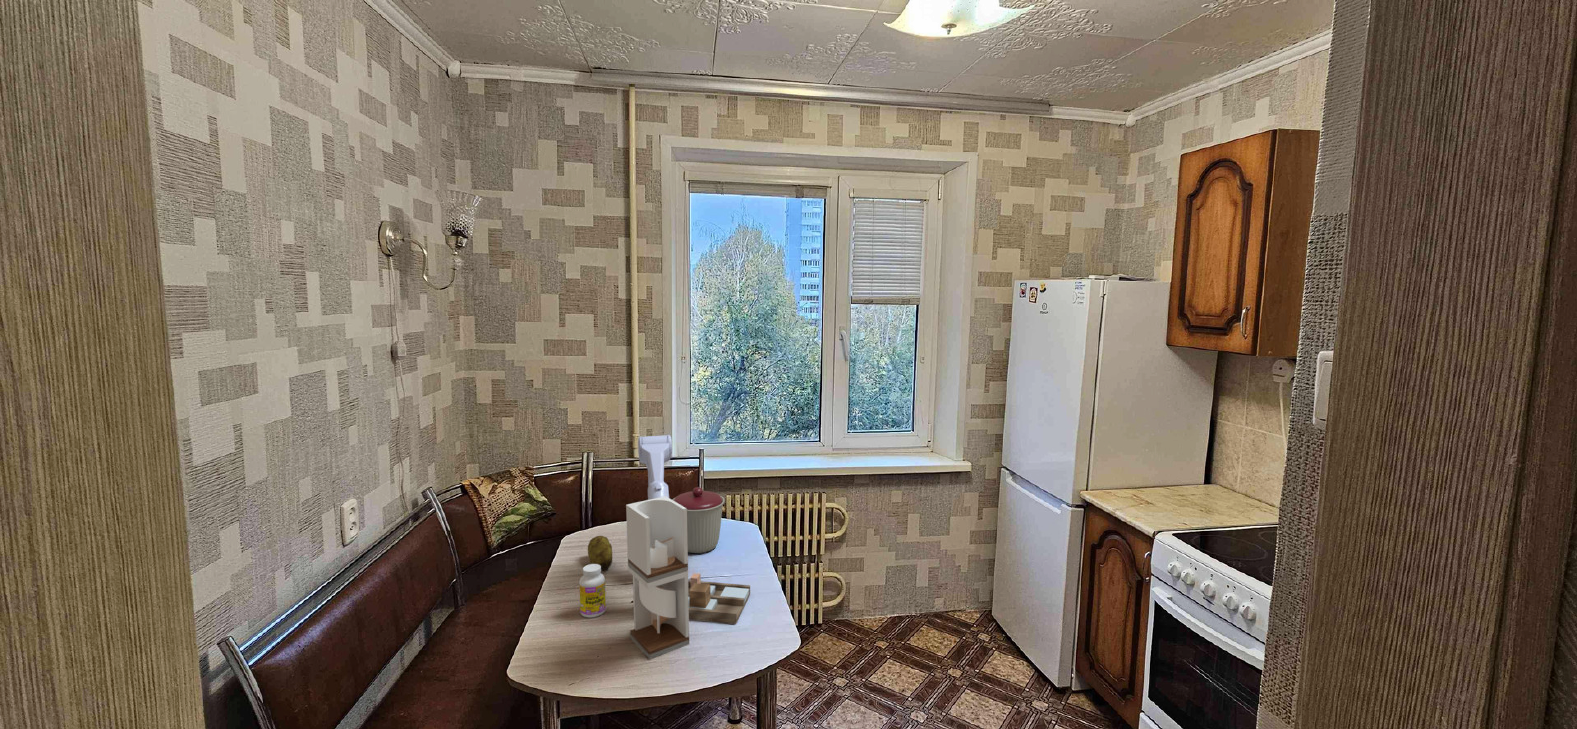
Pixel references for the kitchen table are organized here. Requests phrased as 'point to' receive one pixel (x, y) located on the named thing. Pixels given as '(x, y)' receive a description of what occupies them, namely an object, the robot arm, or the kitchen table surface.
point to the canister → (702, 518)
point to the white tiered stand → (658, 574)
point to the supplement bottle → (592, 591)
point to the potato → (600, 552)
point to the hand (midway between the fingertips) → (661, 596)
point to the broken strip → (727, 590)
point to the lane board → (720, 605)
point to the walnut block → (700, 595)
